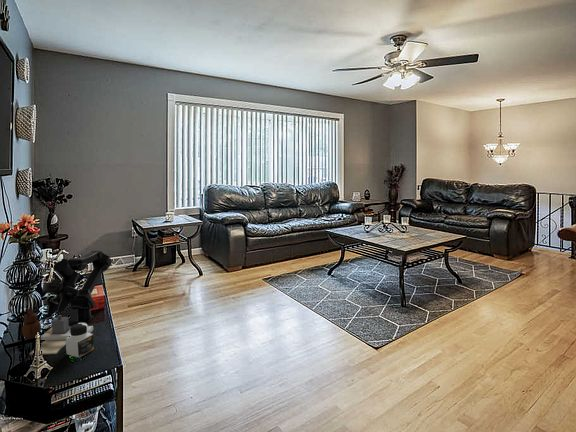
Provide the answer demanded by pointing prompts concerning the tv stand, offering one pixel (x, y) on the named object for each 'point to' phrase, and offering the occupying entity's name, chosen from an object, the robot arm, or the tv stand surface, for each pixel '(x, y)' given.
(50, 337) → the power strip
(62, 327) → the charger
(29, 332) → the wooden figurine
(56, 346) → the pad
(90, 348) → the medicine bottle
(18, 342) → the tv stand surface
